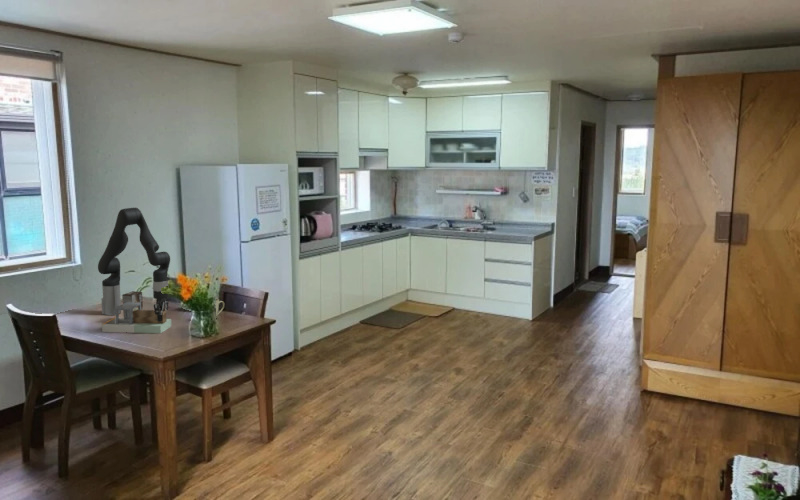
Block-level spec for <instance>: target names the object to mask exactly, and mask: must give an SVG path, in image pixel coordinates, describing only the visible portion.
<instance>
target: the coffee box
mask: <svg viewBox="0 0 800 500" xmlns="http://www.w3.org/2000/svg"><path fill="white" fill-rule="evenodd" d="M121 296H122V304H124V303H126V302H135V303H141V310H144V307H143V305H144V304H143V292H142V291H130V292H126V293H123V294H122V295H121ZM135 310H138V306H137V307H135V308H133V309H132V310H131V312H132V317H133V312H134V311H135ZM122 313H123V315H122V316H123V318H124V317H126V310H122ZM128 316H129V310H128Z"/></svg>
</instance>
